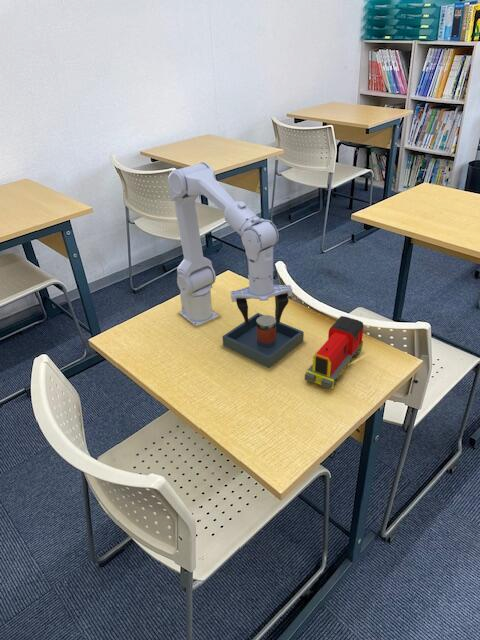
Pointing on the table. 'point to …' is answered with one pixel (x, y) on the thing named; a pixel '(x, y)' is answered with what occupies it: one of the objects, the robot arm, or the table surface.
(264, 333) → the tin can
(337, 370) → the toy train
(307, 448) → the table surface
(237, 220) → the robot arm
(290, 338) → the tub
